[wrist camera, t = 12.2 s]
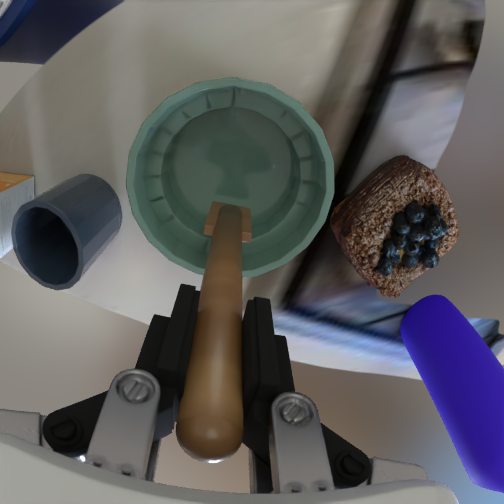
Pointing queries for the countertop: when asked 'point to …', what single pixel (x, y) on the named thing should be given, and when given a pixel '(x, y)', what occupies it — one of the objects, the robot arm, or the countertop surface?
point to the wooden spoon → (217, 344)
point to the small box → (12, 204)
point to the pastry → (395, 224)
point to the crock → (65, 230)
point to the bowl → (230, 172)
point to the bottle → (460, 384)
